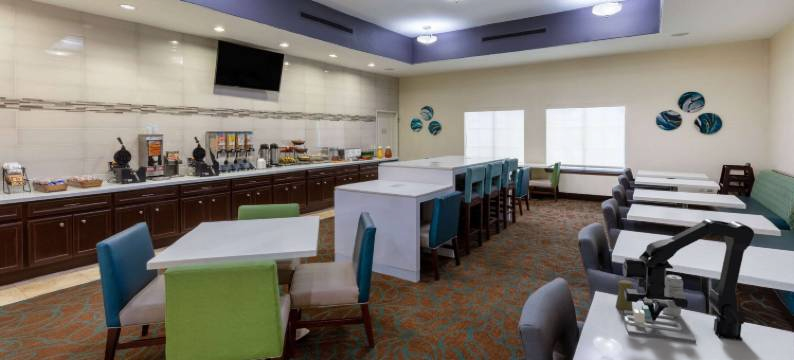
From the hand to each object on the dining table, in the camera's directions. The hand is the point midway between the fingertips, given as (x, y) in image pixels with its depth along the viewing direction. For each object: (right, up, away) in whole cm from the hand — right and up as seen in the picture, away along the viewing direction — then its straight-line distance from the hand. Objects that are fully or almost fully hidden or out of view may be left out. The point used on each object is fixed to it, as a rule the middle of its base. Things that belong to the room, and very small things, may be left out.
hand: (653, 320), depth 150 cm
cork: (-1, -1, +17) cm, 17 cm away
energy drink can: (+13, -1, +10) cm, 17 cm away
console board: (+1, -3, 0) cm, 3 cm away
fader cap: (-4, -1, +2) cm, 5 cm away
